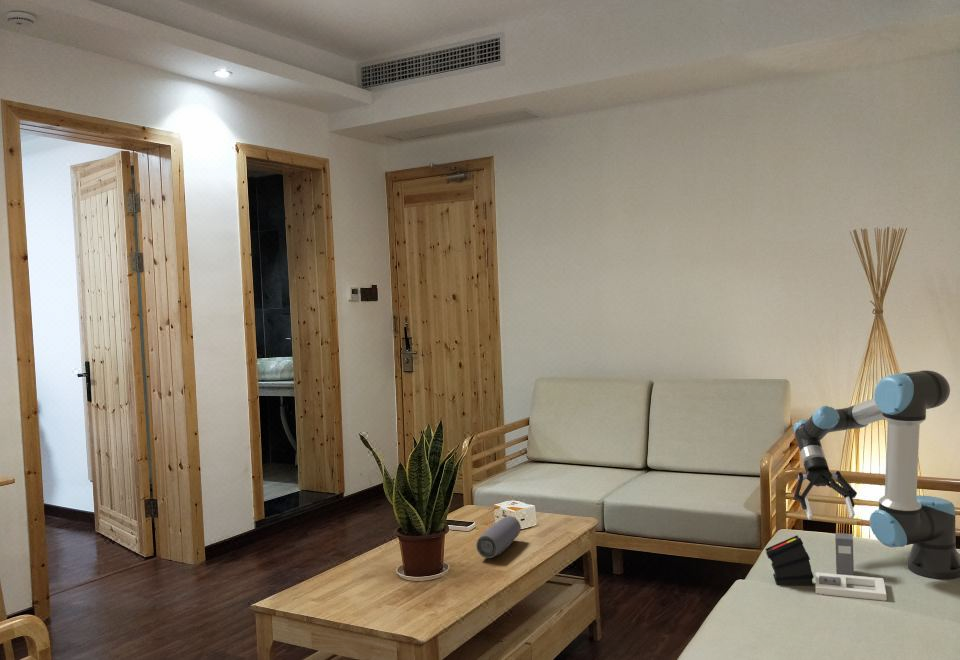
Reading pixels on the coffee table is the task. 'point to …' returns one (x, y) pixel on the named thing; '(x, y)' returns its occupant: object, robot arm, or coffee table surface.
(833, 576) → the white flat rectangular frame
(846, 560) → the grey tall block
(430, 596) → the coffee table surface
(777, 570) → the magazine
